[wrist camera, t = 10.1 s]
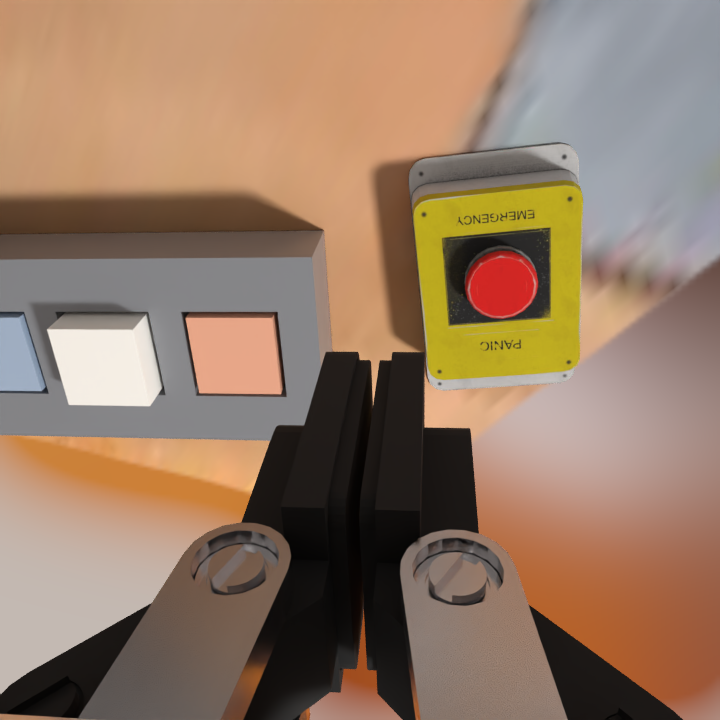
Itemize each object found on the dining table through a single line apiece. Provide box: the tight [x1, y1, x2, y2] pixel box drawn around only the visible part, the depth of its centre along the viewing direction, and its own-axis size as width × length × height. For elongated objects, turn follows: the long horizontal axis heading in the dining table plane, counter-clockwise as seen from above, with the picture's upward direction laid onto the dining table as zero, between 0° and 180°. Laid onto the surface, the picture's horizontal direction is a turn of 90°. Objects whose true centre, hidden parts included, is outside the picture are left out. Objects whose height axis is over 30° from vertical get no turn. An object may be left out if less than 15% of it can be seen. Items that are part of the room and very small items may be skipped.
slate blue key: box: [0, 312, 46, 391], centre depth 43 cm, size 5×5×3 cm
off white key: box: [47, 312, 164, 406], centre depth 41 cm, size 5×5×3 cm
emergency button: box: [409, 143, 583, 390], centre depth 40 cm, size 9×4×15 cm
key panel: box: [0, 230, 332, 441], centre depth 43 cm, size 12×25×4 cm, turn 92°
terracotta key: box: [186, 312, 285, 394], centre depth 41 cm, size 5×5×3 cm
